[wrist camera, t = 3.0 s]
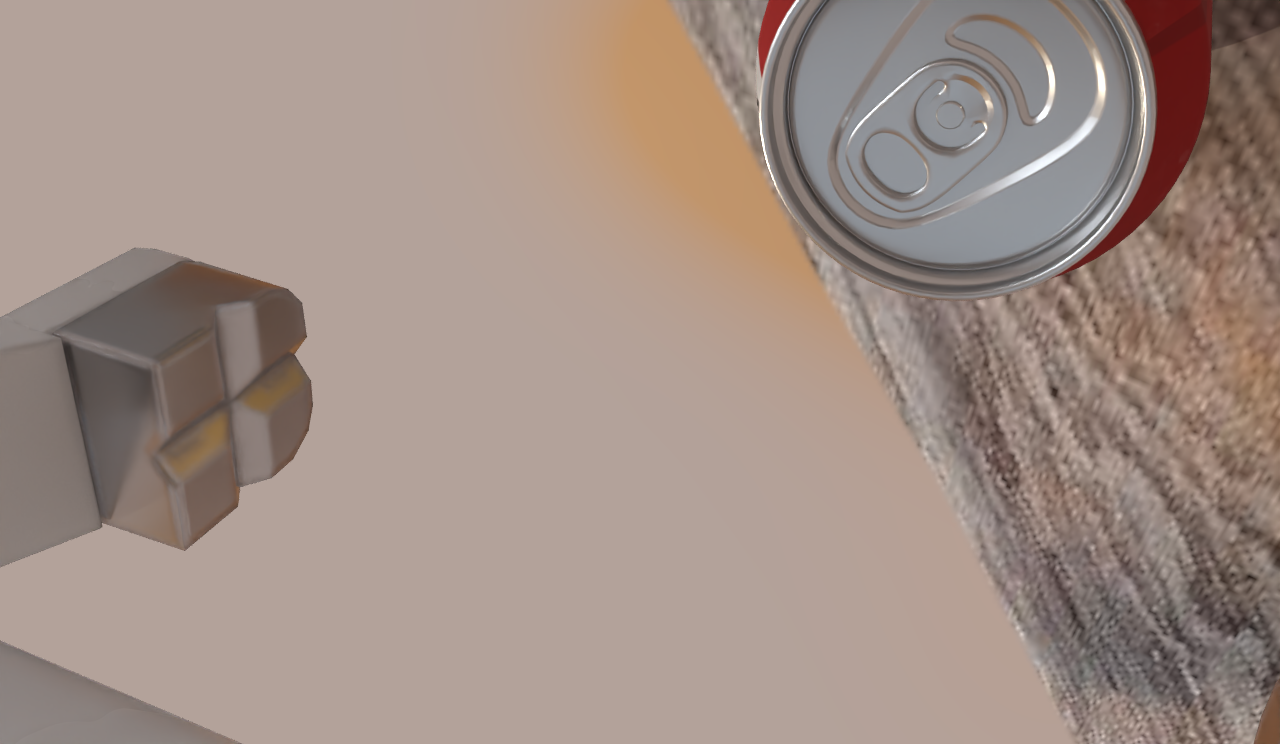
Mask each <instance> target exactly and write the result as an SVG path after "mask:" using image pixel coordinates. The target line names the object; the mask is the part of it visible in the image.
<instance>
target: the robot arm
mask: <svg viewBox="0 0 1280 744" xmlns="http://www.w3.org/2000/svg"><path fill="white" fill-rule="evenodd" d="M306 337H307V335H306V328H305V320H304V313H303V306H302V302H301V301H300V300H299V299H298V298H296V297H295V296H294V294H293V293H292V292H290V291H289V290H288V289H286V288H283V287H279V286H276V285H273V284H270V283H267V282H263V281H260V280H257V279H254V278H250V277H247V276H244V275H241V274H238V273H234V272H231V271H227V270H225V269H221V268H218V267H215V266H212V265H208V264H205V263H202V262H195V261H193V260H191V259H189V258H186V257H182V256H178V255H175V254H171V253H167V252H164V251H160V250H157V249H147V248H134V249H131V250H130V251H128V252H126V253H124V254H122V255H120V256H118V257H116V258H114V259H112V260H110V261H108V262H106V263H104V264H102V265H101V266H99V267H97V268H95V269H93V270H91V271H89V272H87V273H85V274H83V275H81V276H79V277H77V278H75V279H73V280H72V281H70V282H68V283H66V284H64V285H62V286H60V287H58V288H56V289H54V290H52V291H50V292H48V293H46V294H44V295H43V296H41V297H39V298H37V299H35V300H33V301H31V302H29V303H27V304H25V305H23V306H21V307H19V308H17V309H16V310H14V311H12V312H10V313H8V314H6V315H4V316H2V317H0V567H2V566H5V565H7V564H10V563H12V562H15V561H17V560H20V559H22V558H25V557H28V556H30V555H33V554H36V553H38V552H41V551H43V550H46V549H48V548H51V547H54V546H56V545H59V544H61V543H64V542H67V541H69V540H71V539H74V538H77V537H79V536H82V535H84V534H87V533H90V532H92V531H95V530H97V529H100V528H101V527H102V523H104V524H107V525H110V526H113V527H116V528H119V529H122V530H125V531H128V532H131V533H134V534H137V535H140V536H143V537H146V538H148V539H152V540H155V541H158V542H160V543H163V544H166V545H169V546H172V547H175V548H178V549H181V550H184V551H185V550H186V549H188V548H189V547H190V546H191V545H192V544H194V543H195V542H196V541H197V540H198V539H200V538H201V537H202V536H203V535H204V534H206V533H207V532H208V531H209V530H210V529H211V528H213V527H214V526H215V525H216V524H218V523H219V522H220V521H221V520H222V519H224V518H225V517H226V516H227V515H228V514H229V513H231V512H232V511H233V510H234V509H236V508H237V507H238V501H239V492H240V487H243V486H245V485H249V484H253V483H256V482H260V481H263V480H267V479H270V478H272V477H273V476H274V475H276V474H277V473H278V472H279V471H280V470H281V469H282V468H284V467H285V466H286V465H287V464H288V463H289V462H290V461H291V460H293V458H294V456H295V454H296V453H297V451H298V449H299V447H300V445H301V443H302V442H303V440H304V438H305V436H306V434H307V432H308V430H309V424H310V418H311V413H312V407H313V402H312V390H311V380H310V379H309V377H308V376H307V374H306V372H305V371H304V369H303V367H302V366H301V364H300V363H299V361H298V360H297V358H296V356H295V355H294V354H295V353H296V351H297V350H298V348H299V347H300V346H301V344H302V343H303V341H304V340H305V338H306ZM0 744H242V743H239V742H237V741H235V740H232V739H230V738H228V737H225V736H223V735H221V734H218V733H216V732H214V731H211V730H209V729H206V728H204V727H202V726H199V725H197V724H195V723H193V722H190V721H188V720H185V719H183V718H180V717H179V716H176V715H174V714H171V713H169V712H167V711H164V710H162V709H160V708H157V707H155V706H153V705H150V704H148V703H146V702H143V701H141V700H139V699H136V698H134V697H132V696H129V695H127V694H124V693H122V692H120V691H117V690H115V689H113V688H111V687H108V686H105V685H103V684H101V683H99V682H96V681H94V680H92V679H89V678H87V677H85V676H82V675H80V674H78V673H75V672H73V671H71V670H68V669H66V668H63V667H61V666H59V665H57V664H54V663H52V662H50V661H47V660H45V659H42V658H40V657H38V656H35V655H33V654H31V653H28V652H26V651H24V650H21V649H19V648H17V647H14V646H12V645H10V644H7V643H5V642H2V641H0ZM1254 744H1280V679H1278V680H1277V682H1276V684H1275V686H1274V688H1273V691H1272V693H1271V695H1270V698H1269V700H1268V702H1267V704H1266V707H1265V709H1264V711H1263V714H1262V716H1261V719H1260V723H1259V727H1258V730H1257V734H1256V737H1255V741H1254Z"/></svg>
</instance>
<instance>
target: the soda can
mask: <svg viewBox="0 0 1280 744" xmlns="http://www.w3.org/2000/svg"><path fill="white" fill-rule="evenodd" d="M1212 4H1213V0H769V2H768V5H767V8H766V12H765V15H764V18H763V21H762V26H761V31H760V35H759V40H758V47H757V57H756V95H757V105H758V110H759V122H760V134H761V140H762V145H763V151H764V155H765V158H766V162H767V165H768V169H769V171H770V174H771V177H772V179H773V182H774V184H775V186H776V188H777V191H778V193H779V195H780V197H781V199H782V200H783V202H784V204H785V205H786V207H787V209H788V210H789V212H790V214H791V215H792V216H793V218H794V219H795V220H796V222H797V223H798V224H799V226H800V227H801V228H802V230H803V231H804V232H805V233H806V234H807V235H808V236H809V237H810V238H811V240H812V241H813V242H814V243H815V244H816V245H818V246H819V247H820V248H821V249H822V250H823V251H824V252H825V253H826V254H828V255H829V256H830V257H831V258H833V259H834V260H835V261H837V262H838V263H839V264H841V265H842V266H844V267H845V268H847V269H848V270H850V271H851V272H853V273H855V274H857V275H858V276H860V277H862V278H864V279H866V280H868V281H870V282H872V283H875V284H877V285H879V286H882V287H884V288H887V289H890V290H893V291H896V292H899V293H902V294H906V295H911V296H915V297H919V298H926V299H934V300H946V301H969V300H980V299H988V298H995V297H999V296H1004V295H1008V294H1012V293H1015V292H1018V291H1022V290H1025V289H1028V288H1030V287H1033V286H1035V285H1037V284H1040V283H1042V282H1045V281H1047V280H1048V279H1051V278H1054V277H1057V276H1060V275H1062V274H1065V273H1067V272H1069V271H1072V270H1074V269H1077V268H1079V267H1081V266H1082V265H1084V264H1086V263H1088V262H1090V261H1092V260H1094V259H1096V258H1098V257H1099V256H1101V255H1102V254H1104V253H1105V252H1107V251H1108V250H1110V249H1111V248H1113V247H1114V246H1116V245H1117V244H1118V243H1120V242H1121V241H1122V240H1123V239H1125V238H1126V237H1127V236H1128V235H1130V234H1131V233H1132V232H1133V231H1134V230H1135V229H1136V228H1137V227H1138V226H1139V225H1141V224H1142V223H1143V222H1144V221H1145V220H1146V219H1147V218H1148V217H1149V216H1150V215H1151V213H1152V212H1153V211H1154V210H1155V209H1156V208H1157V206H1158V205H1159V204H1160V203H1161V202H1162V201H1163V199H1164V198H1165V197H1166V195H1167V194H1168V192H1169V191H1170V189H1171V188H1172V187H1173V185H1174V184H1175V182H1176V181H1177V179H1178V177H1179V175H1180V174H1181V172H1182V170H1183V168H1184V167H1185V165H1186V163H1187V161H1188V159H1189V157H1190V154H1191V152H1192V150H1193V147H1194V145H1195V143H1196V140H1197V138H1198V134H1199V131H1200V128H1201V125H1202V122H1203V119H1204V114H1205V109H1206V104H1207V99H1208V94H1209V84H1210V73H1211V41H1212Z"/></svg>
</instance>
